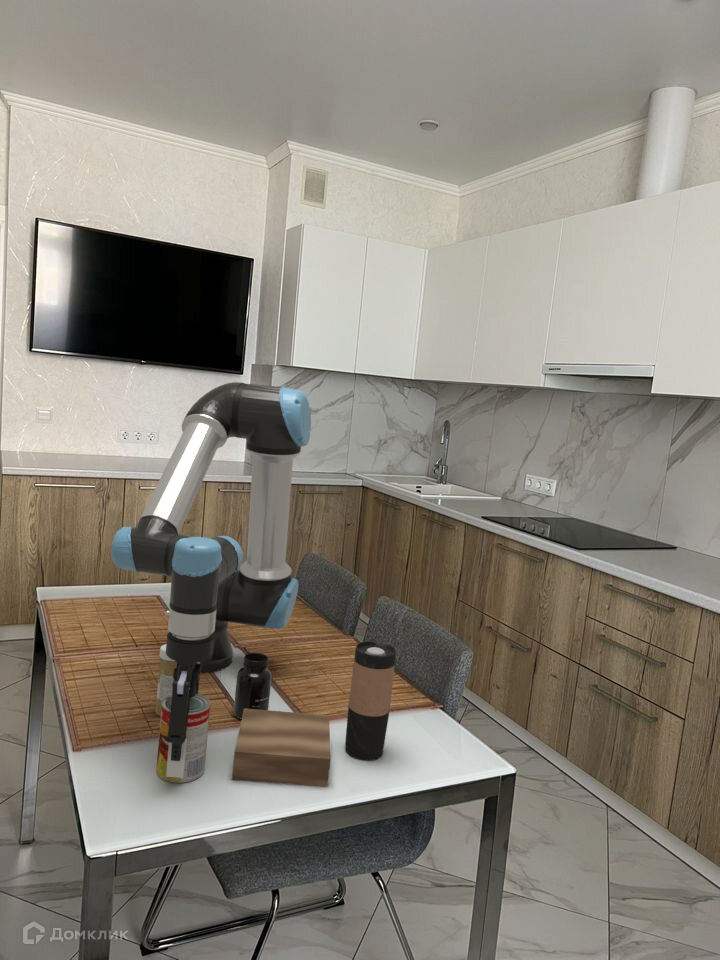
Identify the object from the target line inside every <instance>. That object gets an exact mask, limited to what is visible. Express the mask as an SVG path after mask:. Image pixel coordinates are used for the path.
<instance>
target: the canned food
mask: <svg viewBox="0 0 720 960" xmlns="http://www.w3.org/2000/svg"><path fill="white" fill-rule="evenodd" d="M171 702H172V695H169V696H167V697H166V698H165V699H163V701H162V706H161V716H160V719H159V733H158V745H157V755H156V756H157V757H156V770H155V771H156V774H157V776H158V777H159V778H161V779H162V780H163V781H166V782H170V783H179V784H180V783H188V782H193V781H195V780H197V779H199V778H201V777H202V775H203V774H204V772H205V766H206V756H207V753H206V752H207V744H208V732H209V722H210V711H211V701H210V699H209V698H207V697H206V696H204V695H203V694H199V693H198V694H196V695H195V696H193V697H192V698H191V701H190V709H189V713H188V723H187V731H186V738H187V745H186V756H185V768H184V777H183V778H177V777H166V773H167V761H168V749H169V742H167V741H166V740H164V738H165V736H168V730H169V720H170V711H171Z"/></svg>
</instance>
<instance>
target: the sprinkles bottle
mask: <svg viewBox="0 0 720 960" xmlns="http://www.w3.org/2000/svg"><path fill="white" fill-rule="evenodd" d="M176 667H177V661H175V660H172V659H170V658H169V657H168V656H167V655H166V643H165V644H163V645H161V646H160V648H159V669H158V682H157V689H156V690H157V691H156V707H155V711H154V712H155V713H156V715H157V716H159V717H161V706H162V701H163V699H165V698H166V697H167V696H169V695H172V689H173V686H172V683H173V681H174V678H173V674H174V669H175V668H176Z"/></svg>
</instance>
